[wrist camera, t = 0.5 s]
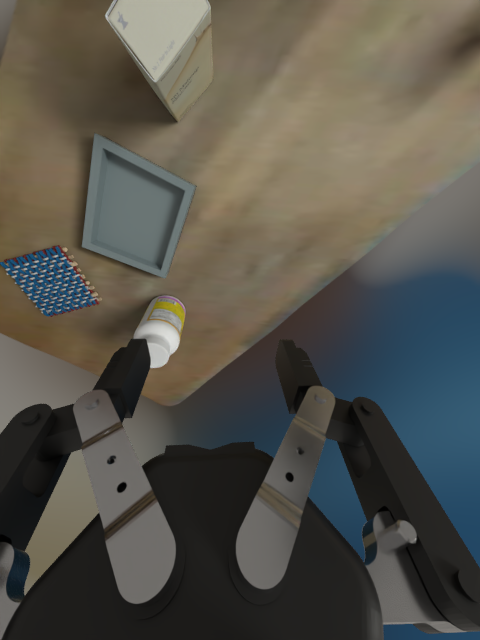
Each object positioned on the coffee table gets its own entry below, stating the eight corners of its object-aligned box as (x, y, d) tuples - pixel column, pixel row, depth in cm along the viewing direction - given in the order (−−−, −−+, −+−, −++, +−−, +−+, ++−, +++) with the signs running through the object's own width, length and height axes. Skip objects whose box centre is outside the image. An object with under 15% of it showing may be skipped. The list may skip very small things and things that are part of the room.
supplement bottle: (164, 329, 43) (147, 379, 32) (141, 304, 40) (113, 350, 29) (193, 314, 42) (185, 361, 31) (172, 287, 38) (154, 329, 28)
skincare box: (178, 123, 27) (154, 90, 17) (148, 83, 25) (100, 17, 15) (215, 78, 25) (214, 8, 15) (186, 30, 23) (162, -88, 13)
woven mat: (52, 314, 40) (45, 320, 38) (5, 259, 34) (-7, 263, 32) (105, 300, 39) (100, 306, 38) (66, 241, 33) (58, 245, 32)
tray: (103, 136, 27) (94, 132, 25) (196, 186, 31) (195, 186, 28) (90, 242, 33) (81, 246, 31) (168, 273, 37) (165, 278, 35)
